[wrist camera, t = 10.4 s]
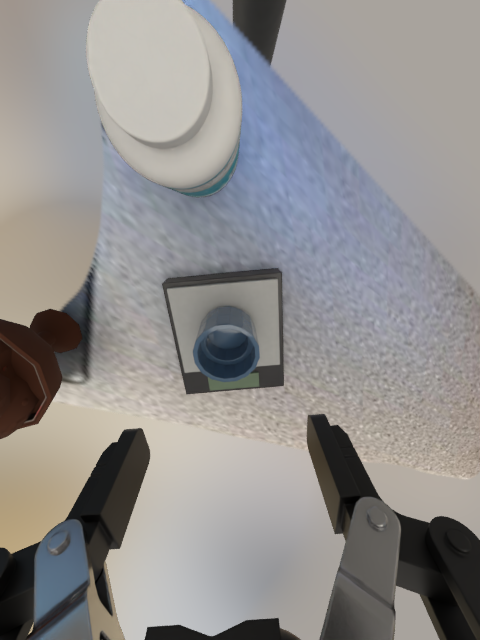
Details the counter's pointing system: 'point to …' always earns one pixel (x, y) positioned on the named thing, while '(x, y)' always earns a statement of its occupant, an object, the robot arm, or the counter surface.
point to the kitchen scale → (222, 291)
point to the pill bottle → (166, 92)
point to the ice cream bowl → (32, 366)
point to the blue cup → (226, 345)
